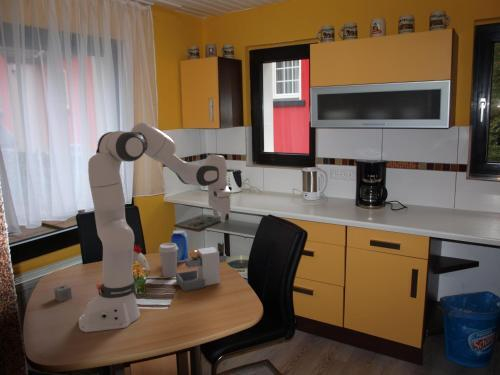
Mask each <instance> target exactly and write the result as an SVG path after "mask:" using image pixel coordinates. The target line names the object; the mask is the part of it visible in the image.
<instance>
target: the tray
mask: <svg viewBox="0 0 500 375" xmlns="http://www.w3.org/2000/svg"><path fill="white" fill-rule="evenodd" d="M175 279H176V280H175V281H176V283H177V284H178V287H180V290H182V291H183V292H185V293H186V292H189V291H194V290H195V291H196V290H201V289H205V288H206V285H205V279H200V280H199V279H198V269H193V270H189V271H188V270H187V271H181V272H176V276H175Z"/></svg>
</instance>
